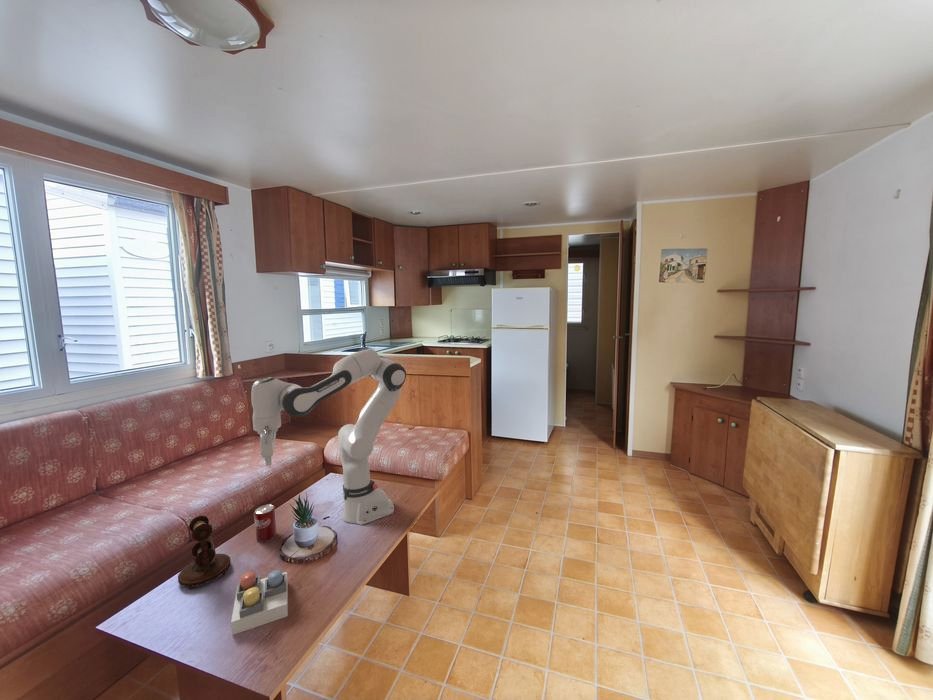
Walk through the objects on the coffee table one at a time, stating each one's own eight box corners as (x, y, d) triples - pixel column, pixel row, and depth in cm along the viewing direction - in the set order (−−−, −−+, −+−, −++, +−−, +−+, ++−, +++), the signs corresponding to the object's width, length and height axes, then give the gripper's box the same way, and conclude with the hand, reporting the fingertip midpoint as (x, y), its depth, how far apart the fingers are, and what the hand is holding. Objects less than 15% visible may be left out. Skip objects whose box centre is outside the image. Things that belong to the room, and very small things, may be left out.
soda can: (268, 544, 143) (265, 514, 142) (251, 541, 145) (249, 513, 143) (280, 532, 150) (278, 505, 149) (265, 530, 152) (263, 503, 150)
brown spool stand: (235, 574, 127) (229, 520, 125) (181, 598, 117) (174, 539, 114) (226, 554, 137) (221, 503, 135) (176, 574, 127) (169, 520, 125)
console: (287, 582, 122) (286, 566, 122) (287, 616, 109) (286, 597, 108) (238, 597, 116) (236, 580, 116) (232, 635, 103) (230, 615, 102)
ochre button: (260, 594, 110) (259, 585, 110) (259, 604, 107) (258, 594, 106) (244, 599, 108) (244, 590, 108) (243, 609, 105) (242, 599, 104)
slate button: (282, 577, 117) (282, 568, 117) (282, 585, 114) (282, 576, 113) (268, 581, 115) (267, 572, 115) (268, 590, 112) (267, 580, 112)
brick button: (256, 578, 117) (255, 570, 116) (255, 587, 113) (254, 578, 113) (241, 583, 115) (241, 574, 115) (240, 591, 111) (239, 582, 111)
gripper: (275, 430, 124) (278, 469, 125) (278, 414, 142) (280, 449, 144) (254, 432, 121) (257, 473, 123) (259, 416, 139) (261, 452, 141)
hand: (269, 460), depth 133 cm, fingers open, 8 cm apart
